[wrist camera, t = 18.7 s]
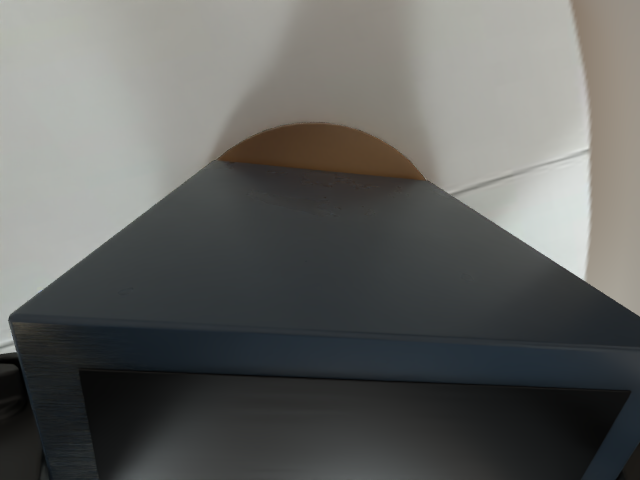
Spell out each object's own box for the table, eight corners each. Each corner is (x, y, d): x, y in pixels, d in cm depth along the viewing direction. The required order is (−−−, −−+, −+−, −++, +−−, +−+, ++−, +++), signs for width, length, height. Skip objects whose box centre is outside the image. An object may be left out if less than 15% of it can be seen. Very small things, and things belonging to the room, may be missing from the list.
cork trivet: (122, 227, 18) (114, 232, 17) (355, 57, 15) (358, 55, 15) (284, 394, 23) (283, 404, 22) (480, 283, 20) (487, 290, 20)
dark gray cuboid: (504, 661, 9) (702, 354, 5) (100, 677, 8) (1, 318, 4) (390, 350, 20) (429, 180, 16) (214, 342, 19) (213, 159, 16)
